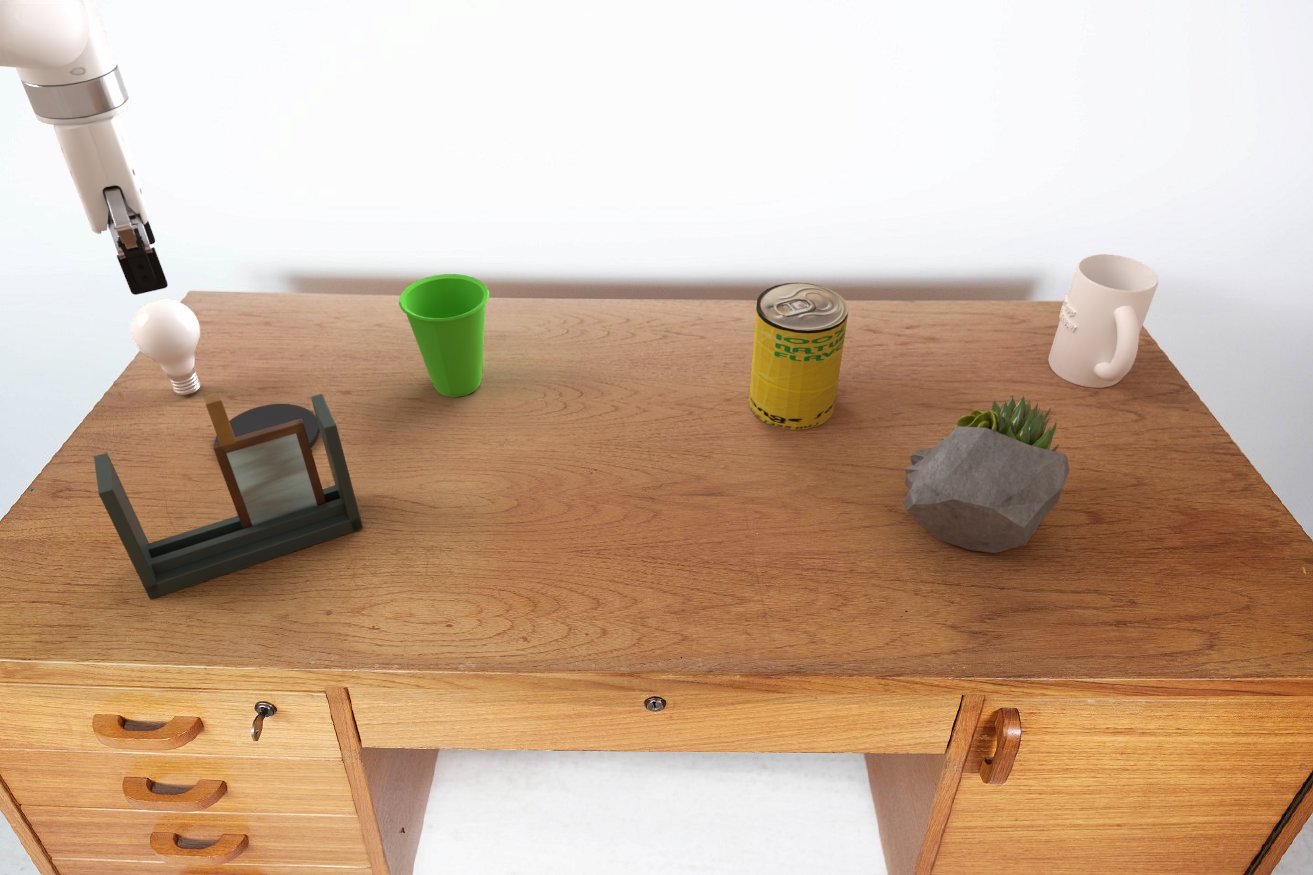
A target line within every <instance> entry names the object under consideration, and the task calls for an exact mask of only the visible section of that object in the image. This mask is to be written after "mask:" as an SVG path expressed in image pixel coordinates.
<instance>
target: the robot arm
mask: <svg viewBox="0 0 1313 875" xmlns="http://www.w3.org/2000/svg"><path fill="white" fill-rule="evenodd" d="M0 67H6V68H15V70H16V72H17V74H18V77H19V79H20V83H21V84H22V86H23V89H24V92H25V94H26V97H27V99H28V101H29V103H30V105H31V108H32V110H33V113H34V116H35V118H36V119H37V120H38V121H40V122H41V123H43V124H47V125H53V129H54V132H55V136H56V139H57V141H58V144H59V147H60V151H61V152H62V155H63V158H64V160H65V163H66V166H67V168H68V171H69V174H70V176H71V178H72V181H73V184H74V186H75V189H76V191H77V194H78V196H79V199H80V201H81V202H80V203H81V204H82V207H83V210H84V212H85V215H86V217H87V220H88V223H89V225H90V226H89V227H90V228H91V231H92V232H94V233H95V234H97V235H100V234H102V232H105V231H107V230H109V232H110V234H111V237H112V240H113V244H114V246H115V248H116V249H115V250H116V252H117V254H116V258H117V260H118V263H119V265H120V269H121V270H122V271H121V272H122V273H123V276H124V278H125V281H126V283H127V286H128V288H129V291H130V293H131V294H132V295H134V296H137V295H141V294H145V293H150V292H156V291H159V290H163V289H167V287H168V285H169V284H168V281H167V278H166V274H165V273H164V269H163V268H162V267H163V266H162V264H161V261H160V259H159V256H158V253H157V250H156V249H155V246H154V247H152V246H151V245H154V244H155V243H156V238H155V235H154V232H153V230H152V227H151V224H150V222H149V220H150V217H149V212H148V207H147V202H146V198H145V193H144V188H143V184H142V179H141V176H140V172H139V169H138V165H137V161H136V159H135V156H134V153H133V152H134V151H133V150H132V147H131V144H130V141H129V137H128V134H127V132H126V129H125V127H124V123H123V120H122V118H121V116H120V114H121V113H123V112H124V111H126V110H127V109H129V107H130V106H131V99H130V97H129V94H128V91H127V88H126V86H125V82H124V79H123V76H122V73H121V70H120V68H119V65H118V63H117V60H116V58H115V54H114V52H113V48H112V46H111V43H110V40H109V37H108V33H107V31H106V28H105V25H104V22H103V20H102V17H101V14H100V11H99V8H98V6H97V2H96V0H0Z"/></svg>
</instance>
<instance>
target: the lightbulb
mask: <svg viewBox="0 0 1313 875" xmlns="http://www.w3.org/2000/svg"><path fill="white" fill-rule="evenodd" d="M130 335H131V339H132V341H133V343H134V345H135V346H136V348H137V350H139V351H140V352H141V354H143V355H145V356H146V357H147V358H149V359H151V360H153V361H154V362H155V363H157V364H158V365H159V367H160V368H161V370H162V371H163V372H164V373H165V374H166V375H167V377H168V379H169V382H170V385H171V388H172V390H173V392H174V394H177V395H179V396H180V395H181V396H187V395H192V394H193V393H195V392H197V391H198V390H199V389H200V387H201V382H200V379H199V377H198V374H197V371H196V368H195V364H196V357H195V356H196V355H195V353H196V350H197V347H198V345H199V342H200V340H201V339H200V338H201V326H200V322H199V319H198V318H197V316H196V314H195V313H194V311H192V310H191V308H190V307H189V306H187V305H186V304H184V303H182V302H180V301H178V300H174V299H169V298H159V299H154V300H151V301H148V302H145V303H144V304H142V305H141V306H140V307H139V308H138V309H137V310H136V312H135V313H134V315H133V316H132V319H131V322H130Z"/></svg>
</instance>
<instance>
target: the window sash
mask: <svg viewBox="0 0 1313 875" xmlns="http://www.w3.org/2000/svg"><path fill="white" fill-rule="evenodd" d="M203 400H204V403H205V407H206V409H207V412H208V415H209V417H210V421H211V423H212V426H213V429H214V431H215V434H216V436H217V437H218V440H219V442H216V443H215V442H213V443H212V444H211V446H212V449H213V452H214V455H215V457H216V460H217V463H218V465H219V468H220V472H221V474H222V476H223V479H224V482H225V484H226V487H227V489H228V492H229V495H230V498H231V500H232V503H233V506H234V509H235V511H236V515H237V516H238V517H239V520H240V522H241V525H242V528H243V529H246V528H249V527H252V526H255V525H258V524H262V523H265V522H268V521H271V520H274V519H277V518H280V517H284V516H287V515H290V514H293V513H296V512H299V511H303V510H306V509H309V508H312V507H315V506H318V505H321V504H325V503H326V499H325V496H324V492H323V489H324V488H323V486H322V482H321V479H320V475H319V472H318V468H317V465H316V462H315V458H314V455H313V450H312V447H310V444H309V440H308V437H307V433H306V430H305V426H304V423H303V420H302V419H298V420H294V421H291V422H287V423H284V424H280V425H277V426H273V427H270V428H266V429H263V430H259V431H256V432H252V433H248V434H245V435H241V436H238V437H235V436H234V433H233V430H232V428H231V425H230V422H229V421H230V419H229V417H228V414H227V410H226V407H225V405H224V402H223V399H222V396H221V393H219V392H216V393H213V394H208V395H205V396H203Z"/></svg>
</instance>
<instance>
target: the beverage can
mask: <svg viewBox="0 0 1313 875" xmlns="http://www.w3.org/2000/svg"><path fill="white" fill-rule="evenodd" d="M848 317H849V304H848V302H847V301H846V299H845V298H844V297H842V296H841V294H839V293H838V292H836V291H834V290H832V289H830V288H829V287H826V286H822V285H819V284H814V283H807V282H787V283H781V284H776V285H774V286H771V287H768V288H766V289H765V290H764V291H762V292H761V293H760V295H758V297H757V299H756V306H755V320H754V330H753V332H754V333H753V345H752V358H751V369H750V372H751V373H750V385H749V397H748V405H749V407H750V410H751V412H752V413H753V415H755V417H756V418H758V419H759V420H760V421H762V422H763V423H766V424H768V425H770V426H772V427H776V428H779V429H784V430H794V431H799V430H800V431H801V430H808V429H813V428H815V427H819V426H820V425H823V424H824V423H826V422H827V421H829V419H830V418H831V417H832V415H833V413H834V411H835V406H836V405H835V404H836V400H837V399H836V398H837V392H838V384H839V378H840V372H841V364H842V357H843V351H844V345H845V338H846V330H847V325H848Z"/></svg>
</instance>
